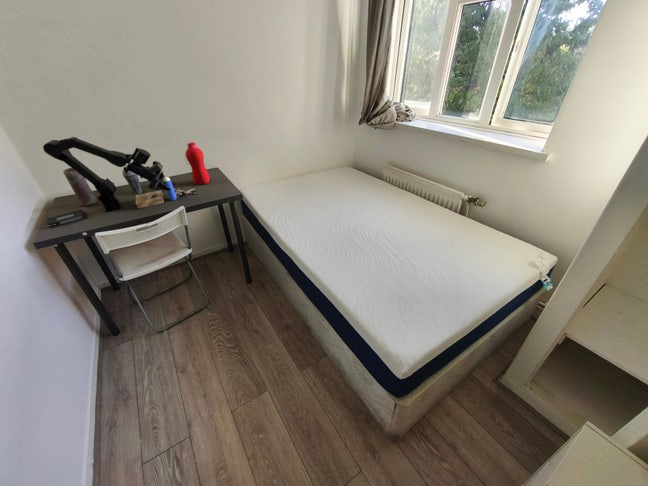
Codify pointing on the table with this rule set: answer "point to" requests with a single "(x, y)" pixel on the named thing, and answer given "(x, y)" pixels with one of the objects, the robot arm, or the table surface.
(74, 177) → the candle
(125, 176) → the beverage cup
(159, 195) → the holder
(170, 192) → the white topped blue rod
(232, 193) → the table surface
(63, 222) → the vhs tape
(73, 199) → the table surface
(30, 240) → the table surface
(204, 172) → the water bottle
